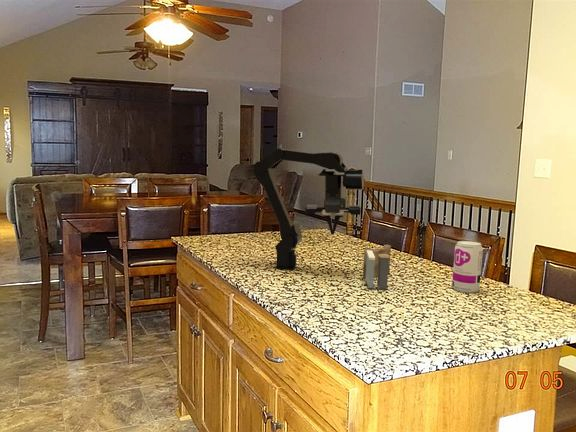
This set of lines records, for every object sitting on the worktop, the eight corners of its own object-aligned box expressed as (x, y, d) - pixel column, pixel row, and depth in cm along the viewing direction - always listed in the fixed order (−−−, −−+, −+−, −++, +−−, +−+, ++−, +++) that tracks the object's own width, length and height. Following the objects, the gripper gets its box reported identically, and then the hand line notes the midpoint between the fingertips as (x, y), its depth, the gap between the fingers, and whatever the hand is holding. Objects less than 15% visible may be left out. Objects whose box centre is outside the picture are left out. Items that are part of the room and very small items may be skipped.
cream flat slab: (364, 279, 177) (366, 250, 176) (370, 279, 177) (372, 250, 175) (367, 288, 165) (369, 257, 164) (373, 289, 165) (375, 257, 164)
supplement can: (465, 294, 164) (469, 245, 162) (446, 287, 171) (449, 241, 169) (484, 291, 168) (489, 244, 166) (465, 285, 175) (468, 240, 173)
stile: (376, 287, 168) (378, 253, 167) (385, 287, 168) (387, 254, 167) (378, 289, 165) (380, 255, 164) (387, 289, 166) (389, 255, 164)
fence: (368, 280, 177) (370, 250, 175) (360, 278, 178) (362, 249, 177) (391, 273, 187) (392, 245, 186) (383, 272, 189) (385, 244, 188)
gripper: (304, 190, 176) (303, 237, 178) (361, 191, 174) (360, 238, 176) (306, 188, 187) (306, 232, 189) (360, 188, 185) (359, 233, 187)
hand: (332, 234), depth 185 cm, fingers closed
